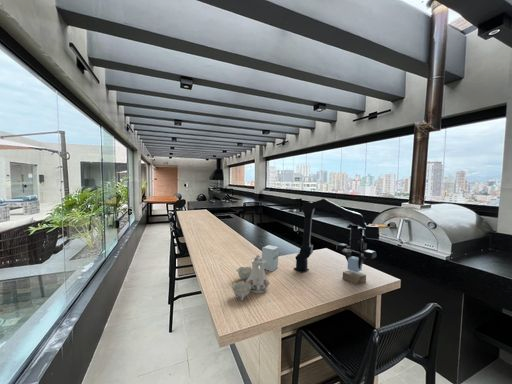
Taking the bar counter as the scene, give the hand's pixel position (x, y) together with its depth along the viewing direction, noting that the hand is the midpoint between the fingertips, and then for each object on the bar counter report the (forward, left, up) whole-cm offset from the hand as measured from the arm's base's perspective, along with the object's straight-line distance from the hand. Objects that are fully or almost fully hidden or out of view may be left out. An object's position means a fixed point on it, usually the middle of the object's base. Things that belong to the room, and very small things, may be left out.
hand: (354, 266), depth 113 cm
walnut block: (0, 0, -8) cm, 8 cm away
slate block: (0, 0, -2) cm, 2 cm away
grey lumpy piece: (-50, +24, -8) cm, 56 cm away
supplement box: (-26, +37, -7) cm, 46 cm away
